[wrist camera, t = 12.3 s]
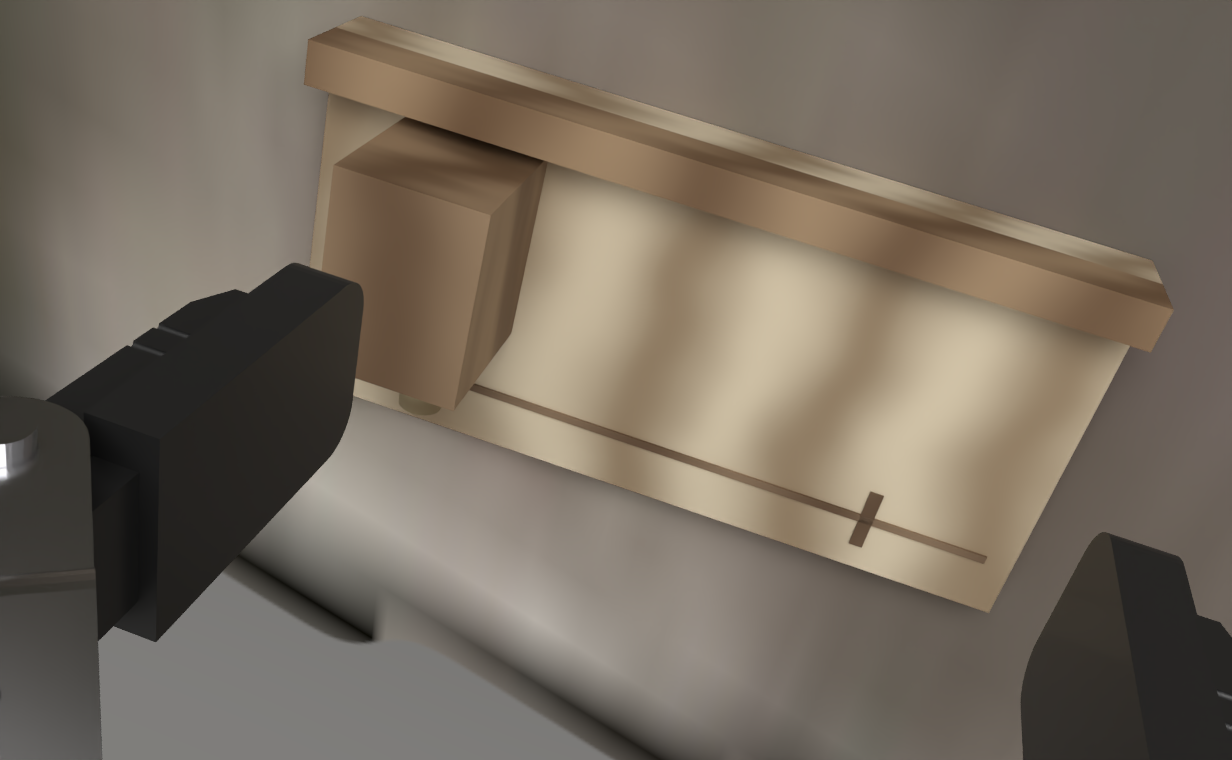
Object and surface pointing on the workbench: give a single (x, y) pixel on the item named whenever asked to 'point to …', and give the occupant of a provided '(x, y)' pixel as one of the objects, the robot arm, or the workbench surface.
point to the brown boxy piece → (432, 255)
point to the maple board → (764, 321)
